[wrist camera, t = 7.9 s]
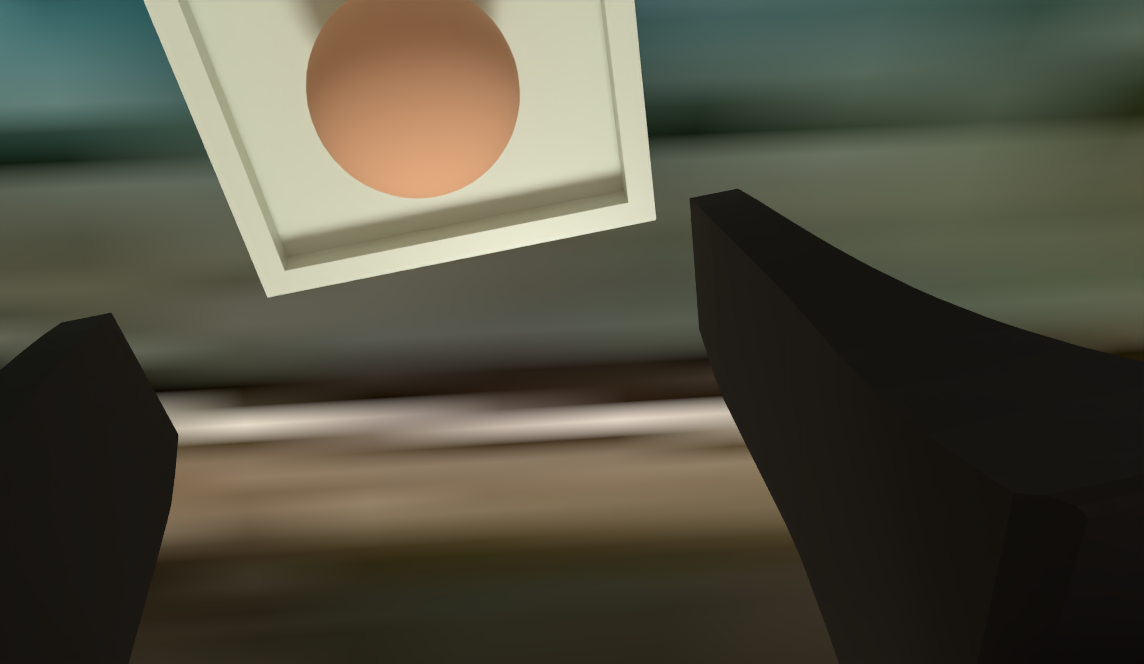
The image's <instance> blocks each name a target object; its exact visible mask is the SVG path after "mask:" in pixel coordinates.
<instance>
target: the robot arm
mask: <svg viewBox="0 0 1144 664" xmlns="http://www.w3.org/2000/svg"><path fill="white" fill-rule="evenodd" d="M690 209H691V223H692V237H693V250H694V264H695V278H696V291H697V305H698V319H699V330H700V333H701V336H702V339H703V342H704V345H705V348H706V351H707V354H708V357H709V360H710V364H711V366H712V369H713V372H714V375H715V378H716V381H717V384H718V387H719V389H720V392H721V394H722V397H723V399H724V401H725V403H726V405H727V407H728V409H729V411H730V413H731V415H732V417H733V419H734V421H735V423H736V425H737V427H738V429H739V431H740V433H741V435H742V437H743V439H744V441H745V443H746V445H747V447H748V449H749V451H750V453H751V455H752V457H753V459H754V461H755V463H756V465H757V467H758V469H759V471H760V473H761V475H762V477H763V479H764V481H765V483H766V485H767V487H768V489H769V491H770V493H771V495H772V497H773V499H774V501H775V503H776V505H777V507H778V509H779V511H780V513H781V515H782V517H783V519H784V521H785V523H786V525H787V528H788V530H789V532H790V534H791V537H792V539H793V541H794V543H795V546H796V548H797V550H798V552H799V555H800V557H801V560H802V562H803V565H804V568H805V570H806V573H807V576H808V578H809V581H810V584H811V587H812V589H813V592H814V595H815V597H816V600H817V603H818V606H819V608H820V611H821V614H822V616H823V619H824V622H825V625H826V627H827V630H828V633H829V636H830V639H831V641H832V644H833V647H834V650H835V653H836V656H837V659H838V661H839V664H1144V362H1143V361H1138V360H1134V359H1129V358H1124V357H1120V356H1116V355H1112V354H1108V353H1104V352H1100V351H1096V350H1092V349H1088V348H1084V347H1081V346H1077V345H1073V344H1070V343H1067V342H1063V341H1060V340H1057V339H1053V338H1050V337H1046V336H1043V335H1040V334H1036V333H1033V332H1030V331H1026V330H1023V329H1020V328H1017V327H1014V326H1011V325H1008V324H1005V323H1002V322H999V321H996V320H993V319H990V318H987V317H985V316H982V315H980V314H977V313H974V312H972V311H969V310H967V309H964V308H962V307H959V306H956V305H954V304H951V303H949V302H946V301H944V300H941V299H938V298H936V297H934V296H932V295H929V294H927V293H925V292H922V291H920V290H918V289H916V288H913V287H911V286H909V285H907V284H905V283H903V282H901V281H899V280H897V279H895V278H893V277H891V276H889V275H887V274H885V273H883V272H881V271H878V270H876V269H874V268H872V267H870V266H869V265H867V264H865V263H863V262H861V261H859V260H857V259H855V258H854V257H852V256H850V255H848V254H846V253H844V252H843V251H841V250H839V249H837V248H835V247H834V246H832V245H830V244H829V243H827V242H825V241H823V240H822V239H820V238H818V237H817V236H815V235H813V234H812V233H810V232H808V231H807V230H805V229H803V228H802V227H800V226H798V225H797V224H795V223H793V222H792V221H790V220H789V219H787V218H785V217H784V216H782V215H781V214H779V213H777V212H776V211H774V210H773V209H771V208H769V207H768V206H766V205H765V204H763V203H761V202H760V201H758V200H756V199H755V198H753V197H752V196H750V195H748V194H746V193H745V192H743V191H741V190H739V189H734V190H729V191H724V192H719V193H714V194H709V195H704V196H699V197H694V198H690ZM177 445H178V433H177V431H176V429H175V428H174V426H173V424H172V422H171V420H170V419H169V417H168V415H167V413H166V411H165V409H164V408H163V406H162V404H161V402H160V400H159V399H158V397H157V395H156V393H155V391H154V389H153V388H152V386H151V384H150V382H149V380H148V379H147V377H146V375H145V373H144V371H143V369H142V368H141V366H140V364H139V362H138V360H137V359H136V357H135V355H134V353H133V351H132V349H131V348H130V346H129V344H128V342H127V340H126V339H125V337H124V335H123V333H122V331H121V329H120V328H119V326H118V324H117V322H116V320H115V318H114V317H113V315H112V313H108V314H103V315H98V316H93V317H88V318H83V319H77V320H72V321H67V322H62V323H60V324H59V325H57V326H56V327H54V328H53V329H51V330H50V331H48V332H47V333H46V334H44V335H43V336H42V337H40V338H39V339H38V340H36V341H35V342H34V343H33V344H31V345H30V346H29V347H28V348H26V349H25V350H24V351H23V352H21V353H20V354H19V355H18V356H17V357H15V358H14V359H13V360H12V361H11V362H9V363H8V364H7V365H6V366H5V367H3V368H2V369H1V370H0V664H128V663H129V659H130V656H131V652H132V648H133V645H134V641H135V638H136V634H137V630H138V627H139V623H140V619H141V616H142V612H143V609H144V605H145V601H146V598H147V594H148V590H149V587H150V583H151V580H152V576H153V572H154V569H155V565H156V561H157V558H158V554H159V550H160V546H161V542H162V539H163V535H164V531H165V527H166V524H167V519H168V515H169V511H170V507H171V502H172V494H173V486H174V478H175V469H176V457H177Z"/></svg>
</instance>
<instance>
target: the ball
mask: <svg viewBox="0 0 1144 664" xmlns="http://www.w3.org/2000/svg"><path fill="white" fill-rule="evenodd" d="M306 95H307V105H308V109H309V113H310V116H311V120H312V122H313V125H314V127H315V130H316V132H317V135H318V137H319V139H320V140H321V142H322V144H323V146H324V147H325V149H326V150H327V151H328V153H329V154H330V155H331V157H332V158H333V159H334V160H335V161H336V162H337V163H338V164H339V165H340V166H341V167H342V168H343V169H344V170H345V171H346V172H347V173H348V174H350V175H351V176H352V177H353V178H355V179H356V180H358V181H360V182H361V183H363V184H364V185H366V186H368V187H371V188H373V189H375V190H377V191H380V192H383V193H386V194H389V195H393V196H398V197H403V198H431V197H438V196H442V195H446V194H449V193H452V192H454V191H457V190H459V189H462V188H463V187H465V186H467V185H469V184H471V183H473V182H474V181H475V180H477V179H478V178H480V177H481V176H482V175H483V174H485V173H486V172H487V171H488V170H489V169H490V168H491V167H492V166H493V165H494V163H495V162H496V161H497V160H498V159H499V157H500V156H501V154H502V153H503V151H504V149H505V148H506V146H507V145H508V143H509V140H510V138H511V136H512V134H513V131H514V128H515V125H516V121H517V117H518V111H519V105H520V87H519V77H518V71H517V67H516V63H515V59H514V57H513V54H512V52H511V49H510V47H509V45H508V43H507V41H506V39H505V38H504V36H503V34H502V32H501V31H500V29H499V28H498V27H497V25H496V24H495V23H494V21H493V20H492V19H491V18H490V17H489V16H488V15H487V14H486V13H485V12H484V11H483V10H482V9H481V8H480V7H478V6H477V5H476V4H475V3H473V2H472V1H471V0H348V1H347V2H345V3H344V4H343V5H342V6H340V7H339V8H338V9H337V10H336V11H335V12H334V13H333V14H332V15H331V16H330V18H329V19H328V20H327V22H326V23H325V24H324V26H323V27H322V29H321V30H320V32H319V34H318V36H317V38H316V40H315V43H314V45H313V48H312V51H311V54H310V57H309V61H308V67H307V72H306Z"/></svg>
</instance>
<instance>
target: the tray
mask: <svg viewBox="0 0 1144 664" xmlns="http://www.w3.org/2000/svg"><path fill="white" fill-rule="evenodd" d="M347 1H348V0H144V2H145V5H146V7H147V10H148V12H149V14H150V17H151V19H152V22H153V24H154V26H155V29H156V31H157V34H158V36H159V38H160V41H161V43H162V46H163V48H164V50H165V53H166V55H167V57H168V60H169V62H170V65H171V67H172V69H173V72H174V74H175V77H176V79H177V81H178V84H179V86H180V89H181V91H182V93H183V96H184V98H185V101H186V103H187V105H188V108H189V110H190V113H191V115H192V117H193V120H194V122H195V125H196V127H197V129H198V132H199V134H200V137H201V139H202V141H203V144H204V146H205V149H206V151H207V153H208V156H209V158H210V161H211V163H212V165H213V168H214V170H215V173H216V175H217V177H218V180H219V182H220V185H221V187H222V189H223V192H224V194H225V197H226V199H227V201H228V204H229V206H230V209H231V211H232V213H233V216H234V218H235V220H236V223H237V225H238V228H239V230H240V232H241V235H242V237H243V240H244V242H245V244H246V247H247V249H248V252H249V254H250V256H251V259H252V261H253V264H254V266H255V268H256V271H257V273H258V276H259V278H260V280H261V283H262V285H263V288H264V290H265V292H266V295H267V297H272V296H277V295H282V294H287V293H292V292H297V291H302V290H307V289H312V288H317V287H322V286H328V285H333V284H338V283H343V282H348V281H353V280H358V279H363V278H368V277H373V276H378V275H383V274H388V273H393V272H398V271H403V270H408V269H413V268H418V267H423V266H428V265H433V264H438V263H443V262H448V261H453V260H458V259H463V258H468V257H473V256H478V255H483V254H488V253H493V252H498V251H503V250H508V249H513V248H518V247H523V246H528V245H533V244H538V243H543V242H548V241H553V240H558V239H563V238H568V237H573V236H578V235H583V234H588V233H593V232H598V231H603V230H608V229H613V228H618V227H623V226H628V225H633V224H638V223H643V222H648V221H653V220H656V214H655V204H654V193H653V183H652V173H651V163H650V153H649V143H648V133H647V123H646V113H645V103H644V93H643V83H642V73H641V63H640V53H639V43H638V33H637V23H636V13H635V3H634V0H471V1H472V2H473V3H475V4H476V5H477V6H478V7H480V8H481V9H482V10H483V11H484V12H485V13H486V14H487V15H488V16H489V17H490V18H491V19H492V20H493V21H494V23H495V24H496V25H497V27H498V28H499V29H500V31H501V32H502V34H503V36H504V38H505V39H506V41H507V43H508V45H509V47H510V49H511V52H512V54H513V57H514V59H515V63H516V67H517V71H518V77H519V87H520V105H519V111H518V117H517V121H516V125H515V128H514V131H513V134H512V136H511V138H510V140H509V143H508V145H507V146H506V148H505V149H504V151H503V153H502V154H501V156H500V157H499V159H498V160H497V161H496V162H495V163H494V165H493V166H492V167H491V168H490V169H489V170H488V171H487V172H486V173H485V174H483V175H482V176H481V177H480V178H478V179H477V180H475V181H474V182H473V183H471V184H469V185H467V186H465V187H463V188H462V189H459V190H457V191H454V192H452V193H449V194H446V195H442V196H438V197H431V198H403V197H398V196H393V195H389V194H386V193H383V192H380V191H377V190H375V189H373V188H371V187H368V186H366V185H364V184H363V183H361V182H360V181H358V180H356V179H355V178H353V177H352V176H351V175H350V174H348V173H347V172H346V171H345V170H344V169H343V168H342V167H341V166H340V165H339V164H338V163H337V162H336V161H335V160H334V159H333V158H332V157H331V155H330V154H329V153H328V151H327V150H326V149H325V147H324V146H323V144H322V142H321V140H320V139H319V137H318V135H317V132H316V130H315V127H314V125H313V122H312V120H311V116H310V113H309V109H308V105H307V95H306V72H307V67H308V61H309V57H310V54H311V51H312V48H313V45H314V43H315V40H316V38H317V36H318V34H319V32H320V30H321V29H322V27H323V26H324V24H325V23H326V22H327V20H328V19H329V18H330V16H331V15H332V14H333V13H334V12H335V11H336V10H337V9H338V8H339V7H340V6H342V5H343V4H344V3H345V2H347Z"/></svg>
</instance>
